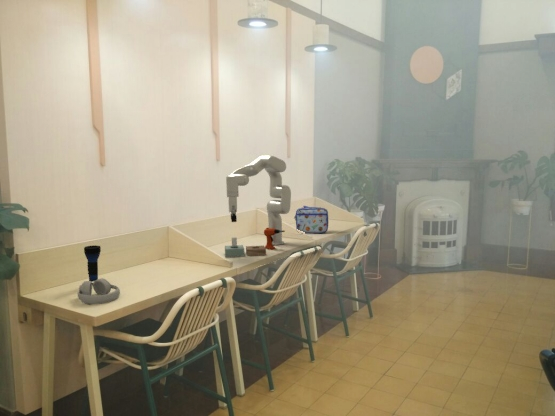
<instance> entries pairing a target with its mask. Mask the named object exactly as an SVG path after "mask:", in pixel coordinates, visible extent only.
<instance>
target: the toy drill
mask: <svg viewBox="0 0 555 416" xmlns="http://www.w3.org/2000/svg"><path fill="white" fill-rule="evenodd" d="M280 232H282V233H285V232H286V230H283V229H282V231H280V230H277V229H273V228H272V229H271V228H269V227H266V228H265V229H264V231H263V234H264V236H265V238H266V244H265V245H264V247H265V248H266V250H269V251H270V250H272V251H273V250H276V247H275V245H272V241H273V238H272V235H275V234H277V233H280Z"/></svg>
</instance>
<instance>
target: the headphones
mask: <svg viewBox="0 0 555 416" xmlns="http://www.w3.org/2000/svg"><path fill="white" fill-rule="evenodd" d="M92 283H93V285H92ZM92 283H91V281H89V280H85V281H83V282H82V284H80V285H79V287H78V292H77V298H79V300H80V302H82V303H83V304H85V305H98V304H99V305H100V304H101V305H102V304H106V303H110V302H113V301H115V300H117V299H118V298H119V297H120V295H121V291H120V287H118V286H117V285H113V284H111V282H109V281H108V280H107V279H106V278H102V277H101V278H98V280H96V281H93V282H92ZM112 289H113V290H114V291H112ZM92 291H94V293H96V294H97V295H92ZM111 291H112V292H111Z"/></svg>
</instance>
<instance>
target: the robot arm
mask: <svg viewBox="0 0 555 416" xmlns="http://www.w3.org/2000/svg"><path fill="white" fill-rule="evenodd" d="M286 169H287V163H286V162H285V160H283V159H281V158H278V157H277V156H274V155H259V156H258V157H257V158H255V159H254V160H253V161H252V162H250V163H249V164H247V165H244V166H242V167H239V168H238V169H236V170H234V171H233V172H232V173H230V175H227V176H226V177H225V179H226V180H225V183H226V198H228V212H229V213H230V220H231V223H237V221H238V220H237V218H238V217H237V213H238V212H237V211H238V198H239V196H240V195H239V194H240V193H239V186H240V187H241V186H242V187H243V186H244V187H245V186H247V185H248V184H249V183H250V178H249V177H254V176H257V175H258V174H259V173H261V172H262V171H263V170H265V171H266V173H267V174H268V175H269V196H270V198H273V199H271V200H269V201H267V203H266V211H267V218H268V223H267V224H268V228H271V229H272V228H273V229H277V230H280V231H283V228H282V226H283V225H282V224H283V223H282V220H283V219H282V217H281V215H287V214H288V213H290V211H291V204H292V203H291V201H292V199H291V198H292V191H291V188H290V186H288V185H286V184H283V177H282V174H281V173H283V172H285V171H286ZM278 199H279V200H278ZM272 238H273V241H272V245H273V246H280V245H284V244H285V241H284V240H283V232H280V233H277V234H275V235H272Z"/></svg>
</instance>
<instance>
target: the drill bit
mask: <svg viewBox="0 0 555 416" xmlns="http://www.w3.org/2000/svg"><path fill="white" fill-rule="evenodd" d="M237 242H238V241H237V237H231V246H232V248H237V245H238V243H237Z"/></svg>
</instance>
